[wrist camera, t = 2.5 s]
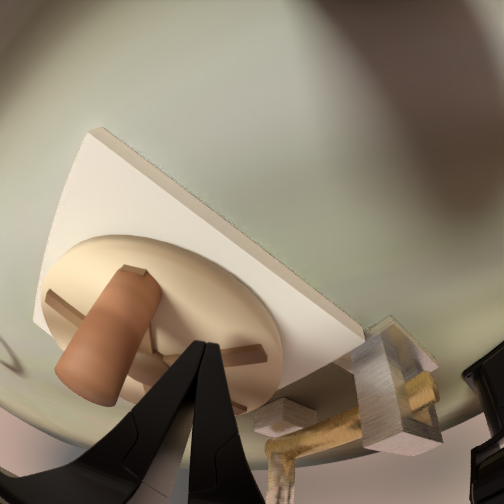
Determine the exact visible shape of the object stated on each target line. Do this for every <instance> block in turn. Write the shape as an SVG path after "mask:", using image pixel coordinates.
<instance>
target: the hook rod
mask: <svg viewBox="0 0 504 504" xmlns="http://www.w3.org/2000/svg"><path fill="white" fill-rule="evenodd" d="M405 386H406V390H407V394H408V398H409V402H410V407H411V411H412V415H414V414H416V413H418V412H420V411H422V410H424V409H426V408H428V407H430V406H431V405H433V404H435V403H437V402H439V400H440V397H439V392H438V389H437V386H436V383H435V381H434V379H433V377H432V376H431V374H430V373H429V372H428V371H427V370H425V371H423V372H422V373H420V374H418V375H417V376H415V377H413V378H411V379H410V380H408V381H406V382H405ZM359 438H362V431H361V422H360V414H359V406H357V407H355V408H353V409H351V410H348V411H346V412H344V413H341V414H339V415H337V416H334V417H332V418H329V419H327V420H324V421H322V422H319V423H317V424H314V425H311V426H308V427H306V428H303V429H300V430H297V431H294V432H291V433H288V434H285V435H282V436H279V437H275V438H272V439H269V440H268V441H267V442H266V444H265V453H266V456H267V457H268V459H269V470H268V484H267V495H266V504H294V483H295V458H298V457H302V456H306V455H310V454H313V453H317V452H320V451H324V450H327V449H330V448H333V447H336V446H339V445H342V444H345V443H348V442H351V441H354V440H356V439H359Z"/></svg>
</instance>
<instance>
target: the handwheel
mask: <svg viewBox="0 0 504 504" xmlns="http://www.w3.org/2000/svg"><path fill="white" fill-rule="evenodd" d="M41 307H42V311H43V315H44V318H45V321H46V324H47V326H48V328H49V330H50V332H51V334H52V336H53V337H54V339H55V341H56V342H57V344H58V345H59V347H60V348H61V349H62V350H63V352H64V353H63V354H62V356H61V358H60V360H59V361H58V363H57V365H56V367H55V373H56V375H57V376H58V378H59V379H60V380H61V381H62V382H63V383H64V384H65V385H66V386H67V387H68V388H69V389H71V390H72V391H73V392H75V393H76V394H78V395H79V396H81V397H83V398H84V399H86V400H88V401H90V402H93V403H95V404H98V405H101V406H106V407H112V406H115V404H116V402H117V399H118V397H121V398H123V399H125V400H127V401H129V402H132V403H134V404H137V403H138V402H139V401H140V400H141V399H142V397H143V396H144V395H145V394H146V393H147V392H148V391H149V390H150V389H151V387H152V386H153V385H154V384H155V383H156V382H157V381H158V380H159V379H160V378H161V376H162V375H163V374H164V373H165V372H166V371H167V370H168V369H169V367H170V366H171V365H172V364H173V363H174V362H175V361H176V360H177V359H178V357H179V356H180V355H181V354H182V353H183V352H184V351H185V350H186V348H187V347H188V346H189V345H190V344H191V343H192V342H193V341H194V340H201V341H205V342H206V343H207V342H213V343H218V344H219V345H220V349H221V354H222V359H223V364H224V369H225V374H226V378H227V383H228V388H229V392H230V397H231V401H232V406H233V410H234V414H235V416H238V415H242V414H245V413H248V412H250V411H252V410H255V409H257V408H259V407H260V406H262V405H263V404H265V403H266V402H267V401H268V400H269V399H270V398H271V397H272V396H273V395H274V393H275V392H276V391H277V389H278V387H279V384H280V381H281V375H282V343H281V337H280V335H279V332H278V329H277V326H276V324H275V322H274V321H273V319H272V317H271V315H270V313H269V312H268V311H267V310H266V308H265V307H264V306H263V304H262V303H261V302H260V300H259V299H258V298H257V297H256V296H255V295H254V294H253V293H252V292H251V291H250V290H249V289H248V288H247V287H246V286H244V285H243V284H242V283H241V282H239V281H238V280H237V279H236V278H234V277H233V276H232V275H230V274H229V273H228V272H226V271H224V270H223V269H221V268H220V267H218V266H217V265H215V264H213V263H212V262H210V261H208V260H206V259H204V258H202V257H200V256H198V255H196V254H194V253H192V252H190V251H188V250H185V249H183V248H180V247H178V246H175V245H172V244H170V243H167V242H163V241H159V240H155V239H152V238H148V237H141V236H134V235H103V236H96V237H92V238H89V239H87V240H84V241H81V242H79V243H78V244H76V245H74V246H73V247H71V248H70V249H69V250H68V251H67V252H66V253H65V254H64V255H63V256H62V257H61V258H60V259H59V260H58V261H57V262H56V263H55V264H54V265H53V266H52V267H51V268H50V269H49V271H48V273H47V274H46V276H45V278H44V280H43V284H42V287H41Z"/></svg>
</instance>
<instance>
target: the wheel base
mask: <svg viewBox="0 0 504 504" xmlns="http://www.w3.org/2000/svg"><path fill="white" fill-rule="evenodd" d="M103 235H134V236H141V237H148V238H152V239H155V240H159V241H163V242H167V243H170V244H172V245H175V246H178V247H180V248H183V249H185V250H188V251H190V252H192V253H194V254H196V255H198V256H200V257H202V258H204V259H206V260H208V261H210V262H212V263H213V264H215V265H217V266H218V267H220V268H221V269H223V270H224V271H226V272H228V273H229V274H230V275H232V276H233V277H234V278H236V279H237V280H238V281H239V282H241V283H242V284H243V285H244V286H246V287H247V288H248V289H249V290H250V291H251V292H252V293H253V294H254V295H255V296H256V297H257V298H258V299H259V300H260V302H261V303H262V304H263V306H264V307H265V308H266V310H267V311H268V312H269V313H270V315H271V317H272V319H273V321H274V322H275V324H276V326H277V329H278V332H279V335H280V337H281V343H282V375H281V381H280V384H279V387H278V389H277V390H279V389H281V388H283V387H285V386H287V385H289V384H291V383H293V382H295V381H297V380H299V379H301V378H303V377H305V376H307V375H309V374H311V373H312V372H314V371H316V370H318V369H320V368H322V367H323V366H325V365H327V364H329V363H331V362H332V361H334V360H336V359H338V358H339V357H341V356H343V355H344V354H346V353H348V352H349V351H351V350H353V349H354V348H356V347H358V346H359V345H361V344H363V343H364V342H366V341H365V337H364V333H363V328H362V326H360V325H359V324H358V323H357V322H355V321H354V320H353V319H352V318H350V317H349V316H348V315H346V314H345V313H344V312H343V311H341V310H340V309H339V308H338V307H336V306H335V305H334V304H332V303H331V302H330V301H329V300H327V299H326V298H325V297H324V296H322V295H321V294H320V293H318V292H317V291H316V290H315V289H313V288H312V287H311V286H310V285H308V284H307V283H306V282H304V281H303V280H302V279H301V278H299V277H298V276H297V275H295V274H294V273H293V272H292V271H290V270H289V269H288V268H286V267H285V266H284V265H283V264H281V263H280V262H279V261H277V260H276V259H275V258H274V257H272V256H271V255H270V254H268V253H267V252H266V251H264V250H263V249H262V248H261V247H259V246H258V245H257V244H255V243H254V242H253V241H252V240H250V239H249V238H248V237H246V236H245V235H244V234H242V233H241V232H240V231H239V230H237V229H236V228H235V227H233V226H232V225H231V224H229V223H228V222H227V221H226V220H224V219H223V218H222V217H220V216H219V215H218V214H216V213H215V212H214V211H213V210H211V209H210V208H209V207H207V206H206V205H205V204H203V203H202V202H201V201H199V200H198V199H197V198H196V197H194V196H193V195H192V194H190V193H189V192H188V191H186V190H185V189H184V188H182V187H181V186H180V185H178V184H177V183H176V182H175V181H173V180H172V179H171V178H169V177H168V176H167V175H165V174H164V173H163V172H161V171H160V170H159V169H157V168H156V167H155V166H153V165H152V164H151V163H149V162H148V161H147V160H145V159H144V158H143V157H141V156H140V155H139V154H137V153H136V152H135V151H133V150H132V149H131V148H130V147H128V146H127V145H126V144H124V143H123V142H122V141H120V140H119V139H118V138H116V137H115V136H113V135H112V134H111V133H109V132H108V131H107V130H105V129H104V128H103V127H100V128H97V129H94V130H91V131H89V132H87V134H86V136H85V138H84V141H83V143H82V145H81V147H80V149H79V152H78V154H77V156H76V159H75V161H74V164H73V166H72V169H71V171H70V174H69V176H68V179H67V182H66V184H65V187H64V190H63V193H62V195H61V198H60V201H59V204H58V207H57V211H56V214H55V217H54V220H53V224H52V227H51V231H50V234H49V238H48V242H47V246H46V250H45V254H44V259H43V263H42V268H41V273H40V278H39V283H38V289H37V295H36V301H35V308H34V316H33V322H34V323H36V324H37V325H38V326H39V327H41V328H42V329H43V330H44V331H45V332H47V333H48V334H49V335H51V336H52V334H51V332H50V330H49V328H48V326H47V324H46V321H45V318H44V315H43V311H42V307H41V287H42V284H43V280H44V278H45V276H46V274H47V273H48V271H49V269H50V268H51V267H52V266H53V265H54V264H55V263H56V262H57V261H58V260H59V259H60V258H61V257H62V256H63V255H64V254H65V253H66V252H67V251H68V250H69V249H70V248H71V247H73V246H74V245H76V244H78V243H79V242H81V241H84V240H87V239H89V238H92V237H96V236H103ZM52 337H53V336H52ZM53 338H54V337H53Z"/></svg>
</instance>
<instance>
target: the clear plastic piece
mask: <svg viewBox="0 0 504 504" xmlns="http://www.w3.org/2000/svg"><path fill="white" fill-rule="evenodd" d="M364 337H365V341H366V342H364V343H363V344H361V345H359V346H358V347H356V348H354V349H353V350H351V351H349V352H348V353H346V354H344V355H343V356H341V357H339V358H338V359H336V360H334V361H332V362H333V363H335V364H336V365H338V366H340V367H341V368H343V369H345V370H347V371H348V372H350V373H352V374H354V379H355V385H356V392H357V399H358V406H359V414H360V422H361V431H362V440H363V448H367V449H371V450H376V451H381V452H387V453H392V454H399V455H405V456H412V457H415V456H417V455H419V454H422V453H424V452H426V451H429V450H430V449H433V448H435V447H437V446H440V445H442V444H443V439H442V435H441V430H440V426H439V422H438V418H437V414H436V410H435V407H434V404H433V405H431V406H430V407H428V408H426V409H424V410H422V411H420V412H418V413H416V414H414V415H412V411H411V407H410V402H409V398H408V394H407V390H406V386H405V382H406V381H408V380H410V379H411V378H413V377H415V376H417V375H418V374H420V373H422V372H423V371H425V370H427V371H428V372H429V373H431V372H432V371H434V370H435V369H437V368H439V366H438V364H437V361H436V360H435V359H434V358H433V357H432V356H431V355H430V354H429V353H428V352H427V351H426V350H425V349H424V348H423V347H422V346H421V345H420V344H419V343H418V342H417V341H416V340H415V339H414V338H413V337H412V336H411V335H410V334H409V333H408V332H407V331H406V330H405V329H404V328H403V327H402V326H401V325H400V324H399V323H398V322H397V321H396V320H395V319H394V318H393V317H391V316H388V317H387V318H386V319H384V320H383V321H381V322H380V323H378V324H377V325H375V326H374V327H372V328H371V329H369V330H368V331H366V332H365V333H364ZM314 424H317V411H315V410H313V409H310V408H308V407H305V406H303V405H301V404H298V403H296V402H293V401H291V400H289V399H287V398H284V397H283V398H280V399H278V400H276V401H274V402H271V403H269V404H267V405H264V406H262V407H259V408H257V409H255V416H254V426H253V431H255V432H258V433H261V434H264V435H267V436H270V437H273V438H275V437H279V436H282V435H285V434H288V433H291V432H294V431H297V430H300V429H303V428H306V427H308V426H311V425H314Z"/></svg>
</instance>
